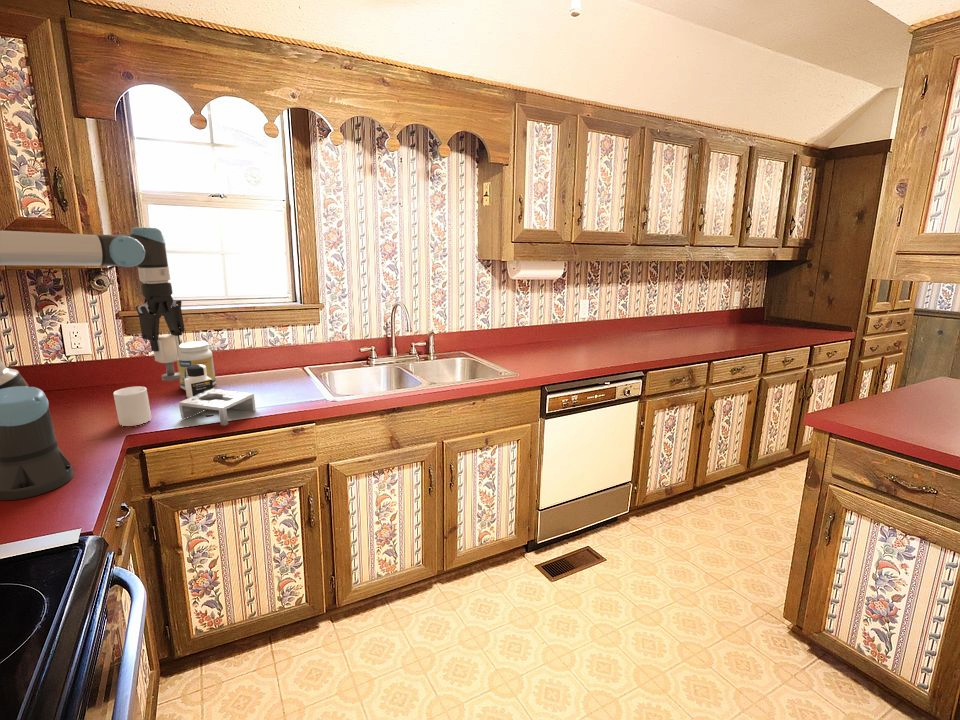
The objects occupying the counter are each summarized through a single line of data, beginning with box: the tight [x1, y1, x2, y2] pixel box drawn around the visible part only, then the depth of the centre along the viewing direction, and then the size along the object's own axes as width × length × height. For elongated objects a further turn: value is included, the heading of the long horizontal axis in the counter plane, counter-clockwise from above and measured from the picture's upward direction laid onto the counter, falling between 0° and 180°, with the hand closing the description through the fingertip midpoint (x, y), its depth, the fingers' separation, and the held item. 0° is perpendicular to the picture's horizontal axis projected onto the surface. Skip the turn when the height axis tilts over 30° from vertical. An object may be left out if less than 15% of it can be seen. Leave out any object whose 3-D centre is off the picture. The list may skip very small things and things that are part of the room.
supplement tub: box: [176, 341, 217, 391], centre depth 190 cm, size 12×12×17 cm
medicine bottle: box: [184, 364, 214, 399], centre depth 180 cm, size 7×7×12 cm
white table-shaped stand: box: [178, 388, 256, 427], centre depth 164 cm, size 14×17×6 cm
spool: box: [158, 334, 181, 382], centre depth 151 cm, size 5×5×13 cm
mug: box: [112, 386, 152, 427], centre depth 158 cm, size 9×12×11 cm
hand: (168, 358), depth 151 cm, fingers closed on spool, 5 cm apart
